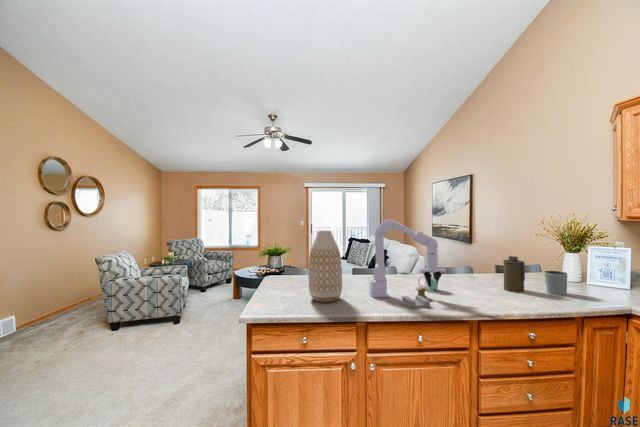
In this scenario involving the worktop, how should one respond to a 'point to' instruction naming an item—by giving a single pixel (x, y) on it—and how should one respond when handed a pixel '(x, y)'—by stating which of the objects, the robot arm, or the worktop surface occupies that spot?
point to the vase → (325, 268)
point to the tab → (433, 285)
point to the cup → (425, 281)
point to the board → (416, 302)
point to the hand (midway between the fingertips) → (432, 285)
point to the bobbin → (421, 291)
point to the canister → (514, 274)
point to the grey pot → (556, 282)
